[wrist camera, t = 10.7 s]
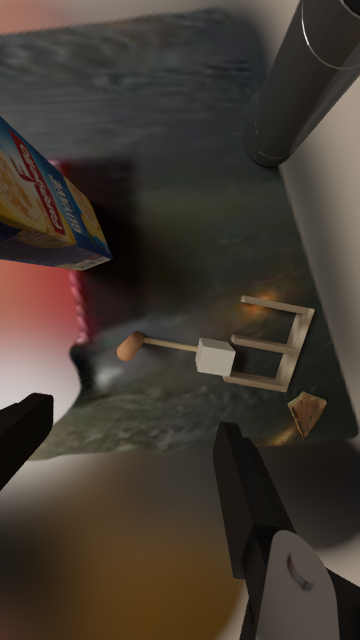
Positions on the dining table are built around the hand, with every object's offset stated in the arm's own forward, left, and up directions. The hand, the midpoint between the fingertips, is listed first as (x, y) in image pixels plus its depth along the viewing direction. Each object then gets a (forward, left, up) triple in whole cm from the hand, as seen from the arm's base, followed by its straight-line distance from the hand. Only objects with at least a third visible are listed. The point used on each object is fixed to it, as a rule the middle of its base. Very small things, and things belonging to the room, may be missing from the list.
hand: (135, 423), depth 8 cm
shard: (+16, +36, -29) cm, 49 cm away
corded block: (+6, +3, -28) cm, 29 cm away
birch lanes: (+2, +20, -28) cm, 35 cm away
